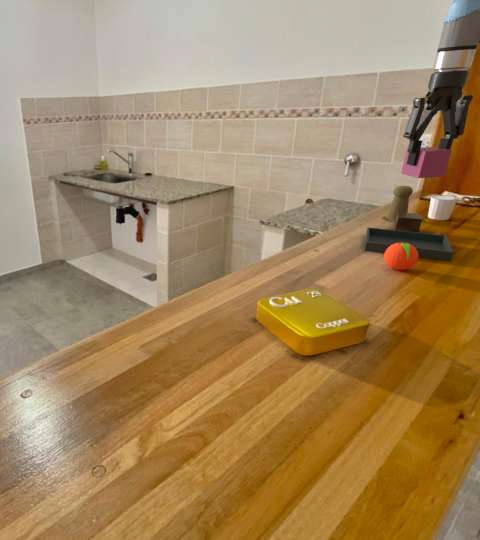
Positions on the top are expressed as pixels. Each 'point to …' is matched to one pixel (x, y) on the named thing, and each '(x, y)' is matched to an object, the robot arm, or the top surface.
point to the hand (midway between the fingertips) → (425, 163)
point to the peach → (401, 256)
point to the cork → (399, 201)
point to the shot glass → (441, 207)
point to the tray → (409, 242)
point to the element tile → (311, 321)
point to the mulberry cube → (428, 163)
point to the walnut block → (408, 222)
